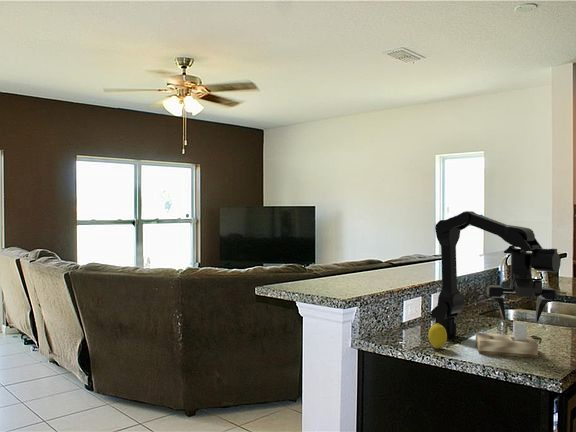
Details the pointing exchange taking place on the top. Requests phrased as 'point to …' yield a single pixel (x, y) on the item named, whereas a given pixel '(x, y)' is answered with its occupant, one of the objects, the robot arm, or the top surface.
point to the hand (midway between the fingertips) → (520, 320)
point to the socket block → (505, 345)
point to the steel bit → (519, 331)
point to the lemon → (437, 335)
